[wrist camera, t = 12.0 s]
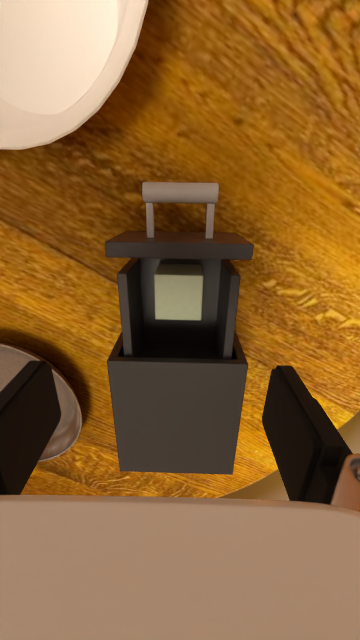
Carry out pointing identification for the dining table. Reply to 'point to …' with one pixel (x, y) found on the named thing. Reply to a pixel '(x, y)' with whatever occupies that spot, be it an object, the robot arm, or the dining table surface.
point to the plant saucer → (8, 360)
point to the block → (178, 292)
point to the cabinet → (177, 411)
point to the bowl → (60, 64)
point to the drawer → (179, 248)
